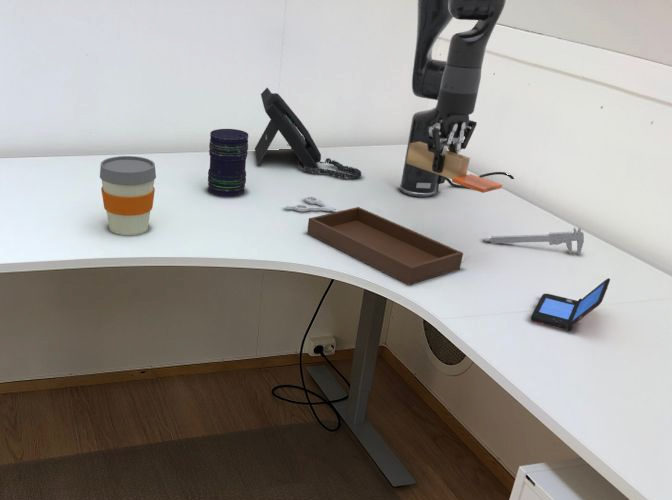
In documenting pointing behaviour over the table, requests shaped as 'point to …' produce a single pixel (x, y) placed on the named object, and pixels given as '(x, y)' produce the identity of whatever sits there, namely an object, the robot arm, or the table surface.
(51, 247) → the table surface
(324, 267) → the table surface
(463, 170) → the tan and orange bar
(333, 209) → the scissors
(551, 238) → the caliper
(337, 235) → the tray
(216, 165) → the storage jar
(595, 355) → the table surface
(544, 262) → the table surface
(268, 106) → the office phone
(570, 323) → the handheld console
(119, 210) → the reusable coffee cup
